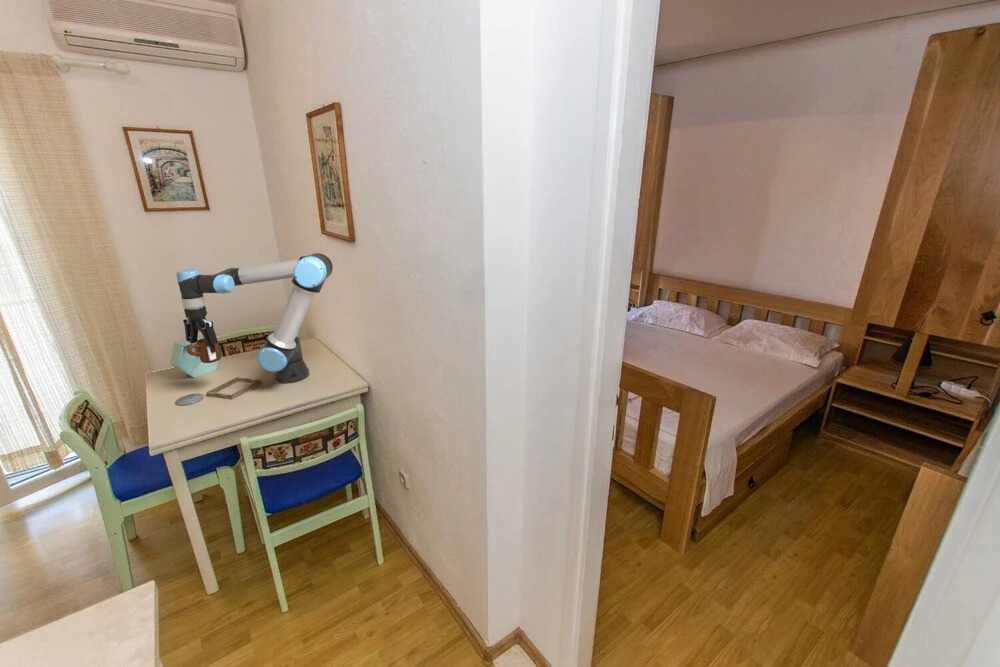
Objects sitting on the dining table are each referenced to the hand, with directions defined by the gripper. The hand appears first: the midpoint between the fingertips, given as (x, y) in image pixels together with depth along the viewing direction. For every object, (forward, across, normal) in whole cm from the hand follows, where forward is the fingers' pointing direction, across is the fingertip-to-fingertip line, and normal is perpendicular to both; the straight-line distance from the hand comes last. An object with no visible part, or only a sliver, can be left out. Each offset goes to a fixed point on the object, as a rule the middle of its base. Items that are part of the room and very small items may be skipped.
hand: (205, 358), depth 188 cm
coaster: (+17, +5, +7) cm, 19 cm away
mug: (+2, 0, 0) cm, 2 cm away
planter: (+18, +27, -16) cm, 36 cm away
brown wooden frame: (+17, -6, -6) cm, 19 cm away
